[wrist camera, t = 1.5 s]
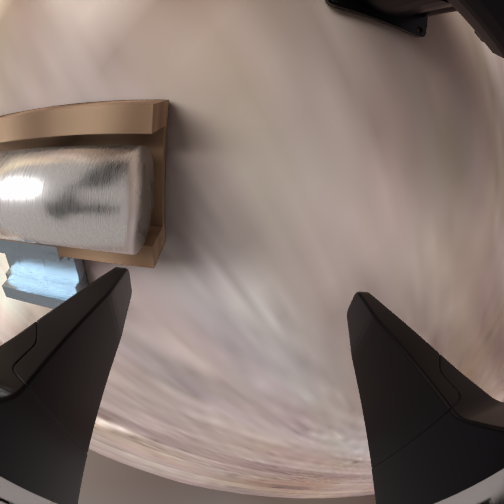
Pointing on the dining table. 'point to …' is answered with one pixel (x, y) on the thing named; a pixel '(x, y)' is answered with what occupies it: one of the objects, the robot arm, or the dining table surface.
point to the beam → (100, 133)
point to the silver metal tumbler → (78, 196)
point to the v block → (41, 274)
